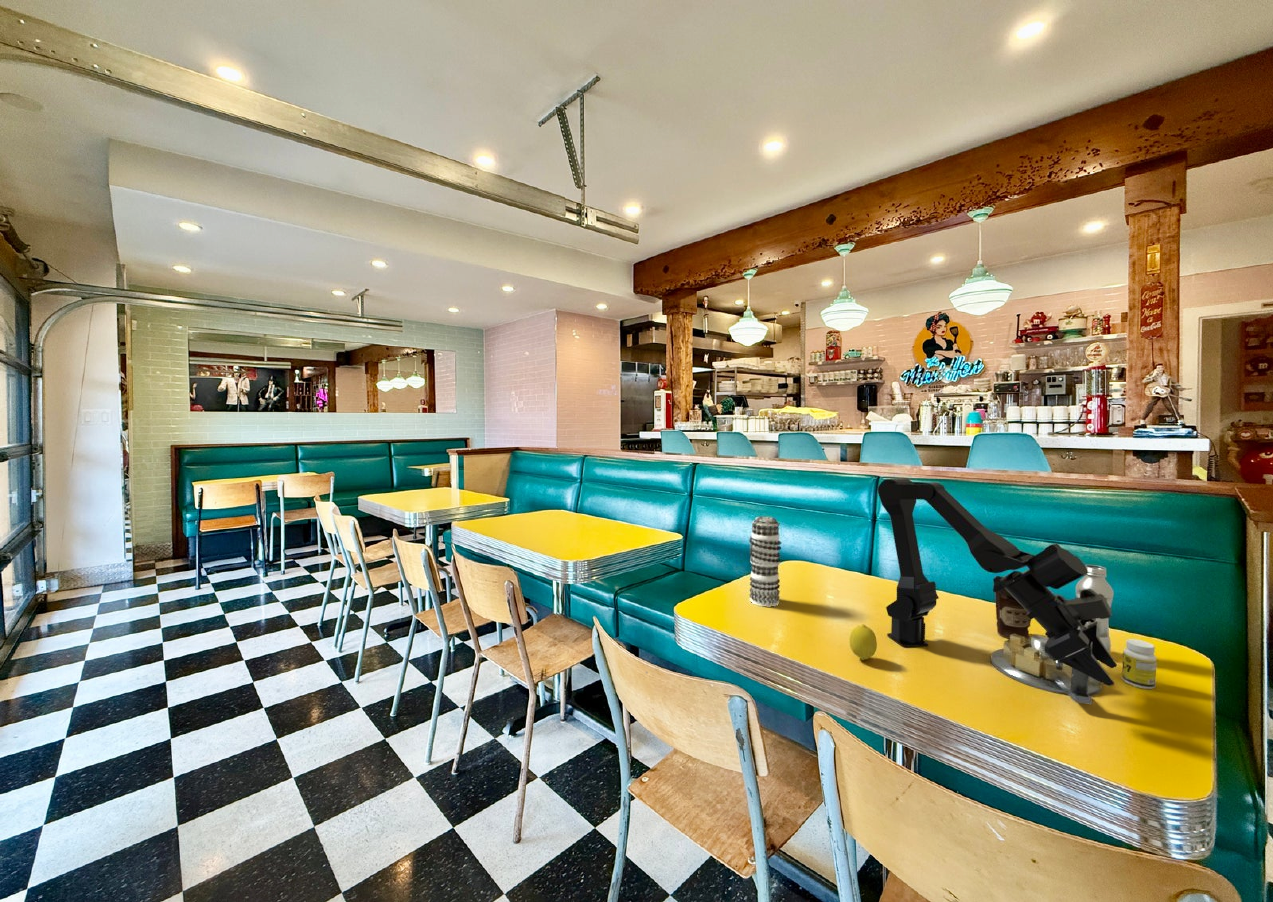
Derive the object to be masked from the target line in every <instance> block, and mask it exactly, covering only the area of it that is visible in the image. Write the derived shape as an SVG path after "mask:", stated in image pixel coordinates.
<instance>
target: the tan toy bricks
mask: <svg viewBox="0 0 1273 902" xmlns="http://www.w3.org/2000/svg"><path fill="white" fill-rule="evenodd" d="M1003 642H1004V643H1003V649H1004V652H1003V656H1004V658H1005V659H1006V660H1007V661H1008V662H1009V663H1010V665H1014V666H1015V668H1017V669H1020V670H1023V671H1025V672H1028V673H1030V674H1033V675H1035V676H1038V677H1040V676H1042V675H1043V676H1044V677H1045V678H1046V679H1052V680H1054V681H1055V682H1056V683H1057V684H1058V685H1059V686H1060V687H1061V688H1062V689H1063V690H1064V691H1065V692H1066V693H1067V694H1068V695H1067V696H1069V697H1070V698H1071V699H1072V700H1073V702H1074V703H1078V704H1079V703H1080V704H1088V705H1092V704H1093V697H1091V695H1088V688H1089V676H1088V675H1086V674H1084V673H1082V672H1080V671H1078V670H1076V669H1074V668H1072V667H1070V666H1068V665H1066V664H1064V663H1059V662H1058V660H1057V661H1053V660H1052V659H1049V658H1043V657H1040V656H1039V650H1036V649H1033V648H1031V638H1029V639H1028V638H1025V637H1024V636H1021V635H1018V634H1015V633H1014V634H1011V635H1010V638H1008V639H1007V640H1004V641H1003Z"/></svg>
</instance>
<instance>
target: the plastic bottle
mask: <svg viewBox="0 0 1273 902" xmlns="http://www.w3.org/2000/svg"><path fill="white" fill-rule="evenodd" d="M1084 565H1085V566H1086V568H1087V571H1088V573H1087V574H1086V575H1084V576H1083V577H1081V579H1079V581H1078V582H1077V583H1076V585H1075V596H1076V597H1078V598H1080V592H1081V590H1084V589H1091V590H1093V591H1094V592H1095V593H1097V594H1098V595H1099V594H1102V595H1104V597H1105V598H1106V599H1107V603H1108V605H1109V607H1110V608H1112V603H1113V600H1114V599H1113V598H1114V593H1115V592H1114V590H1113V588H1112V586H1111V585H1110V584H1109V583H1108V581H1107V580H1106V578H1107V576H1108V575H1107V568H1106V567H1103V566H1101V565H1095V564H1084ZM1109 620H1110V619H1109V618H1106V619H1100V618H1096V620H1095V622H1098V627H1097V635H1098V637H1099V638H1100V640H1101V642H1102V643H1103V645H1104V646H1105V648H1106V649H1107V651H1108V652H1109V653H1110V651H1111V648H1112V647H1111V646H1112V644H1111V637H1110V627H1109V625H1110V624H1109ZM1087 623H1088V624H1089V625H1090V624H1092V622H1090V621H1089V622H1087ZM1093 623H1094V622H1093Z"/></svg>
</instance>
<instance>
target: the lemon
mask: <svg viewBox="0 0 1273 902" xmlns="http://www.w3.org/2000/svg"><path fill="white" fill-rule="evenodd" d="M848 640H849V647H850V649H851V652H852V653H853V654H854V655H855V656H856V657H858V658H860V660H862V661H864V660H866V659H870V658H872V657H873V656H875V653H876V651H877V647H878V643H877V637H876V634H875V632H874V630H872V629H871V628H870V627H868V626H867V625H866V624H864V623H863V624H861V625H857V626H855V627H854V628H853V629H852V630H851V632H850V635H849V639H848Z"/></svg>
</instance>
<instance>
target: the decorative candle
mask: <svg viewBox="0 0 1273 902" xmlns="http://www.w3.org/2000/svg"><path fill="white" fill-rule="evenodd" d="M751 524H752V526H751V527H752V528H751V535H750V536H749V540H748V541H749V542H748V543H750V545H749V549H750V550H749V555H750V559H749V562H750V563H751V571H750V578H749V580H750V582H749V586H751V587H750V588H749V597H750V598H749V602H750V601H751V602H752V603H753V604H752V603H751V602H750V603H751V604H752V605H754V604H756V605H755V606H757V605H759V606H758V607H762V606H767V607H766V608H772V607H771V606H774V607H777V606H778V605H777V604H779V605H780V597H781V596H780V593H781V591H780V590H779V589H780V582H781V580H780V578H779V577H780V576H779V575H780V574H779V566H780V565H781V564H780V563H781V559H780V558H779V557H781V556H782V554H781V553H780V552H779V551H780V550H782V547H781V546H780V545H781V544H782V541H780V533H779V530H780V528H779V525H781V524H780V523H779V522H778V521H777V519H776V517H775V518H774V517H772V516H756V517H755V519H754V520H753V521H751ZM776 605H777V606H776Z"/></svg>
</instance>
